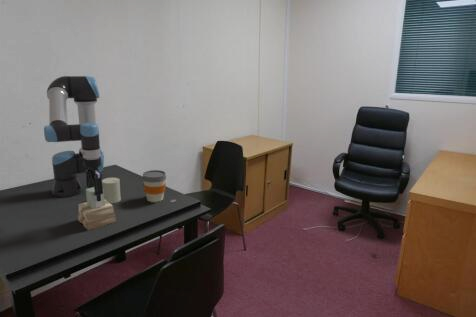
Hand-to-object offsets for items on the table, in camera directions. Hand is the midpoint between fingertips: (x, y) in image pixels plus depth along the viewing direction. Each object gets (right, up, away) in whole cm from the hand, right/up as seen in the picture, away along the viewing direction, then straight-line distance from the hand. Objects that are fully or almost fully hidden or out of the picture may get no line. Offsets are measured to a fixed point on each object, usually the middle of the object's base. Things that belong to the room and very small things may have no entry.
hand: (95, 204), depth 163 cm
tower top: (-1, -5, +2) cm, 5 cm away
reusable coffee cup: (+21, -1, +30) cm, 37 cm away
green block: (0, 0, 0) cm, 0 cm away
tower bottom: (-1, -9, +3) cm, 9 cm away
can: (-2, -1, +27) cm, 27 cm away
